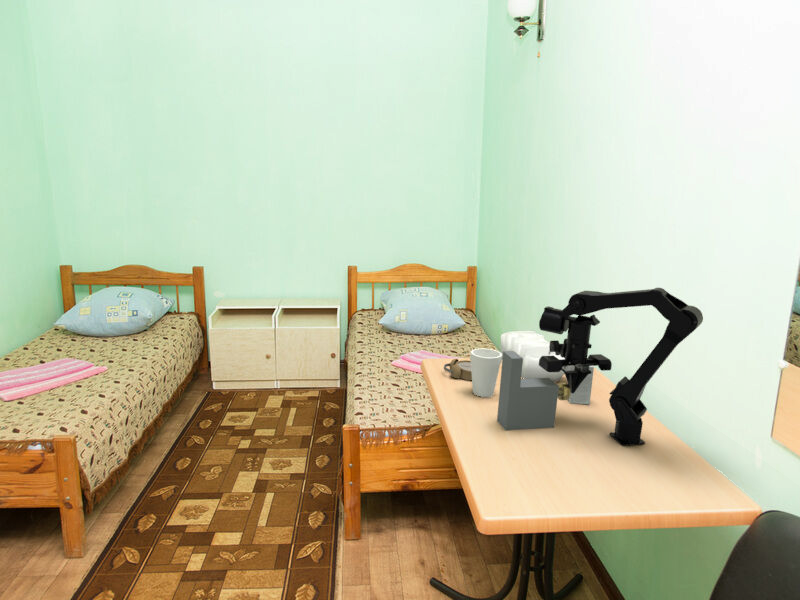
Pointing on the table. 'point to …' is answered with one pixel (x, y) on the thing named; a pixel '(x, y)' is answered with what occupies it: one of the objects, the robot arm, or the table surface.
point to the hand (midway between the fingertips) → (571, 392)
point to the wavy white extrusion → (530, 353)
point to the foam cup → (484, 371)
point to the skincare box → (583, 390)
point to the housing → (525, 397)
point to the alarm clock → (460, 369)
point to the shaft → (563, 391)
